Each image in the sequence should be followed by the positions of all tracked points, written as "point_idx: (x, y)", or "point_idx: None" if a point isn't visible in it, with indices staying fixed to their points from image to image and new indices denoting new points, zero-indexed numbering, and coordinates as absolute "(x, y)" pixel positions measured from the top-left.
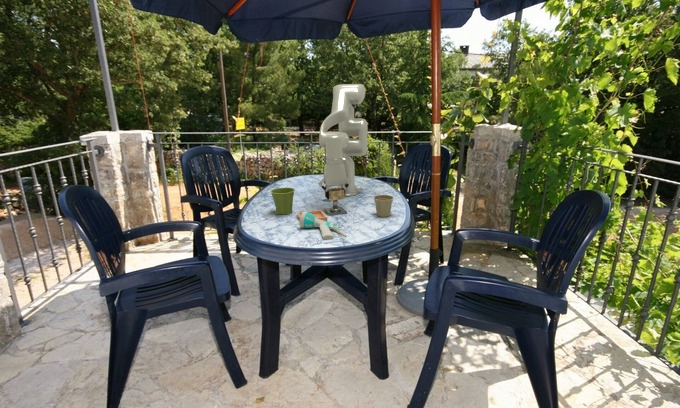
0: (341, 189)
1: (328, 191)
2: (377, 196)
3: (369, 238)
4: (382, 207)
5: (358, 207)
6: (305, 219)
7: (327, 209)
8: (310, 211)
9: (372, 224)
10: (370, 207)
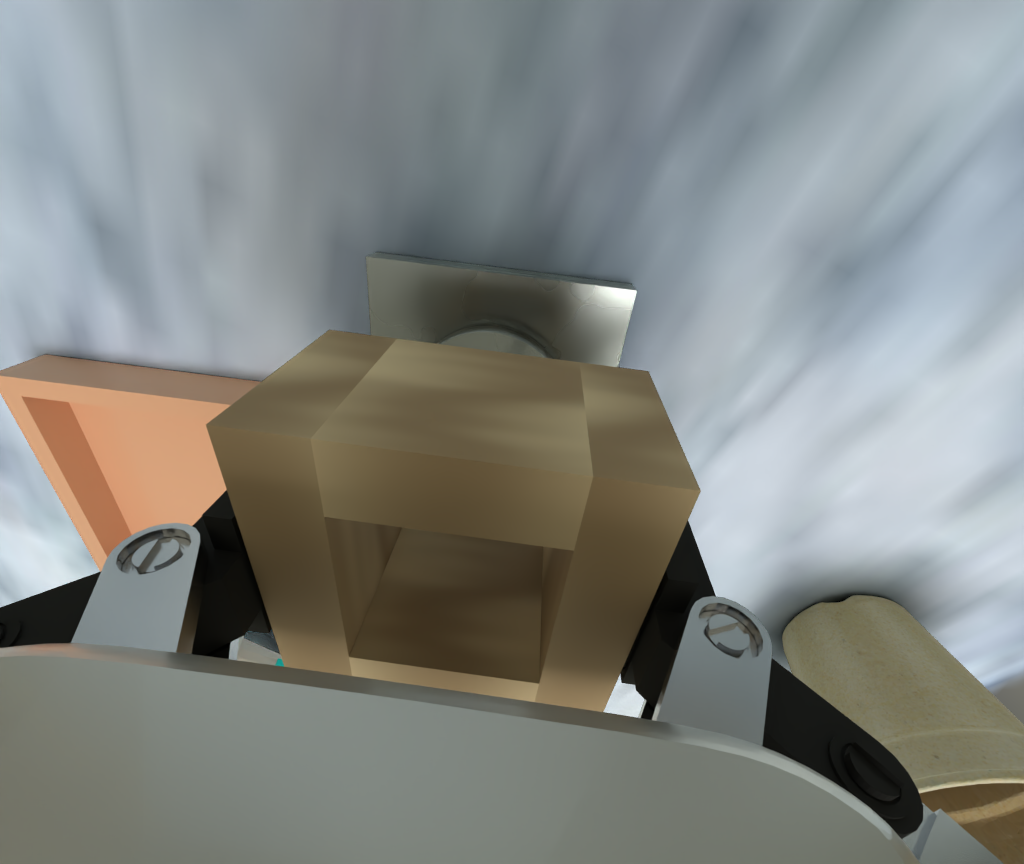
0: (608, 644)
1: (266, 624)
2: (997, 770)
3: None
4: None
5: (855, 345)
6: None
7: (398, 335)
8: (157, 411)
9: (623, 707)
10: (976, 412)
